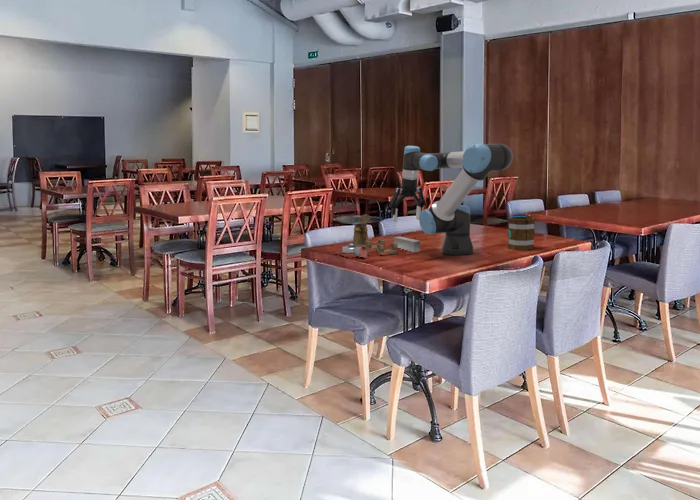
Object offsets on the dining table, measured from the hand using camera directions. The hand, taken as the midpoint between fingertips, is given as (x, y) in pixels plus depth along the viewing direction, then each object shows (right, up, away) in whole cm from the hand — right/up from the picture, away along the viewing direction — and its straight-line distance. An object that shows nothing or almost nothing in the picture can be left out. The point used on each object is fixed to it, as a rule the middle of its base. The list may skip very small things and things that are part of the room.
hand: (406, 220), depth 322 cm
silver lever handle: (-25, -17, -15) cm, 34 cm away
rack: (-13, -16, -6) cm, 21 cm away
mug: (+56, -13, +2) cm, 58 cm away
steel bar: (0, -15, +1) cm, 15 cm away
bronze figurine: (-22, -13, +11) cm, 28 cm away
